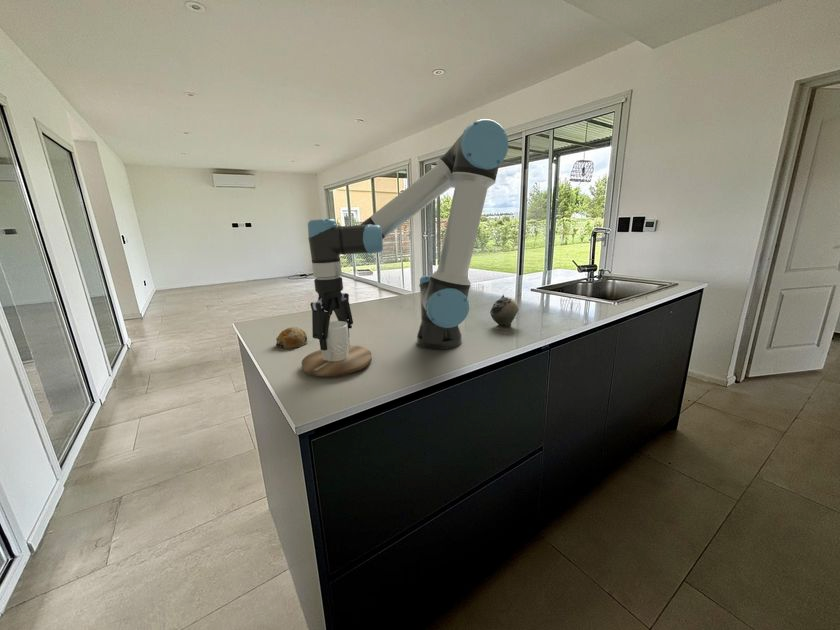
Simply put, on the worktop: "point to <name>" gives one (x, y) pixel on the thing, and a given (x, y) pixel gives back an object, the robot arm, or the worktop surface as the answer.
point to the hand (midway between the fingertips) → (337, 354)
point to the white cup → (338, 340)
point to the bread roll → (291, 338)
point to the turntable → (337, 362)
